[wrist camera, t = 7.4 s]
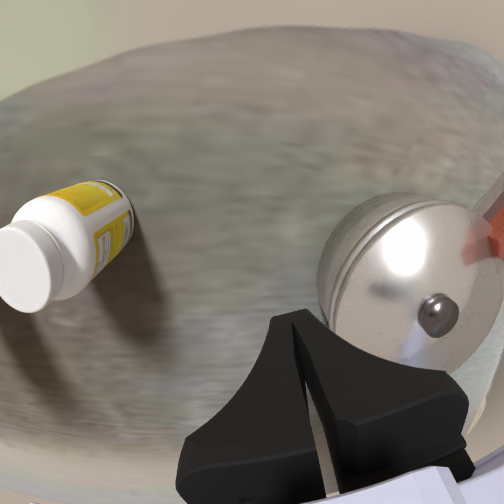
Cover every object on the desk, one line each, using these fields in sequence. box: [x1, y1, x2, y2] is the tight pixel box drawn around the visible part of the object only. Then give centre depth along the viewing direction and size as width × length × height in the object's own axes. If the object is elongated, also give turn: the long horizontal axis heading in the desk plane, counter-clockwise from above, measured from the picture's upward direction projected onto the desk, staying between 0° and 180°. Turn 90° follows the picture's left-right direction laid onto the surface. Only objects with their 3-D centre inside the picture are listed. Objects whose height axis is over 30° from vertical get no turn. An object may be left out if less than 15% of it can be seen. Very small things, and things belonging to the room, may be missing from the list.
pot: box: [317, 172, 504, 331], centre depth 20 cm, size 20×13×5 cm, turn 134°
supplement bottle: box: [0, 180, 134, 313], centre depth 16 cm, size 5×5×10 cm
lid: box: [333, 203, 504, 375], centre depth 16 cm, size 18×12×2 cm
